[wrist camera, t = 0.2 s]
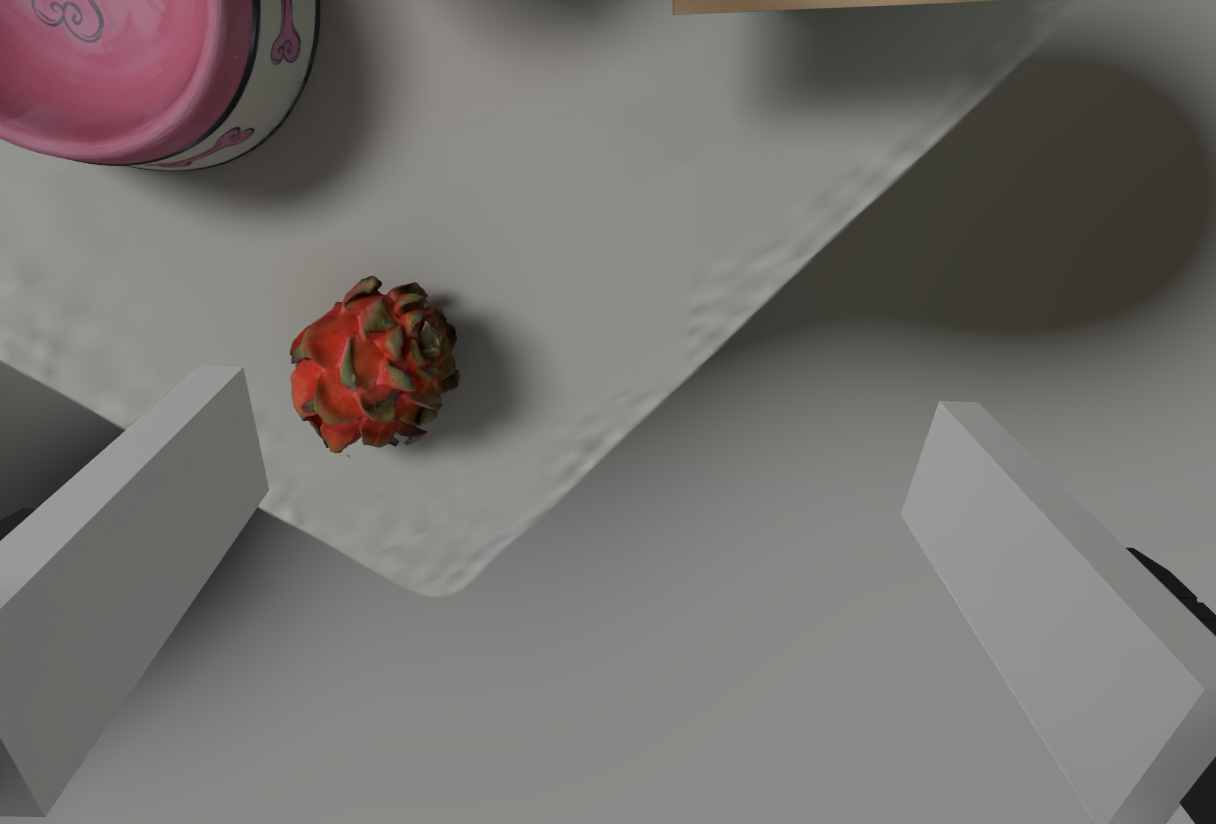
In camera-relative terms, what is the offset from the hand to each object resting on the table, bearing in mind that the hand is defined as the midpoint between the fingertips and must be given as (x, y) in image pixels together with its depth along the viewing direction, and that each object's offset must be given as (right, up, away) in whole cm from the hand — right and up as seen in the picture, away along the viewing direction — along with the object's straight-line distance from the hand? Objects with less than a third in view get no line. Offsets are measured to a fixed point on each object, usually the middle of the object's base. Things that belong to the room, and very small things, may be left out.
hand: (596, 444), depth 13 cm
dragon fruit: (-13, +5, +29) cm, 32 cm away
